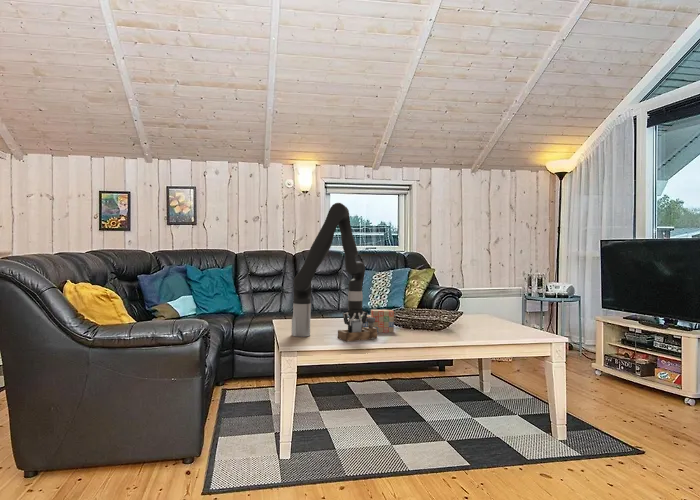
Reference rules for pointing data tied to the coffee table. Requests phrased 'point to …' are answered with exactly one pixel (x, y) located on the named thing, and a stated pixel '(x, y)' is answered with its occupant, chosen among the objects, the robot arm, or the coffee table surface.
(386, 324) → the stack of blocks
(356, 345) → the coffee table surface
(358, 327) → the block
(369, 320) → the wheel
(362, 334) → the chassis
